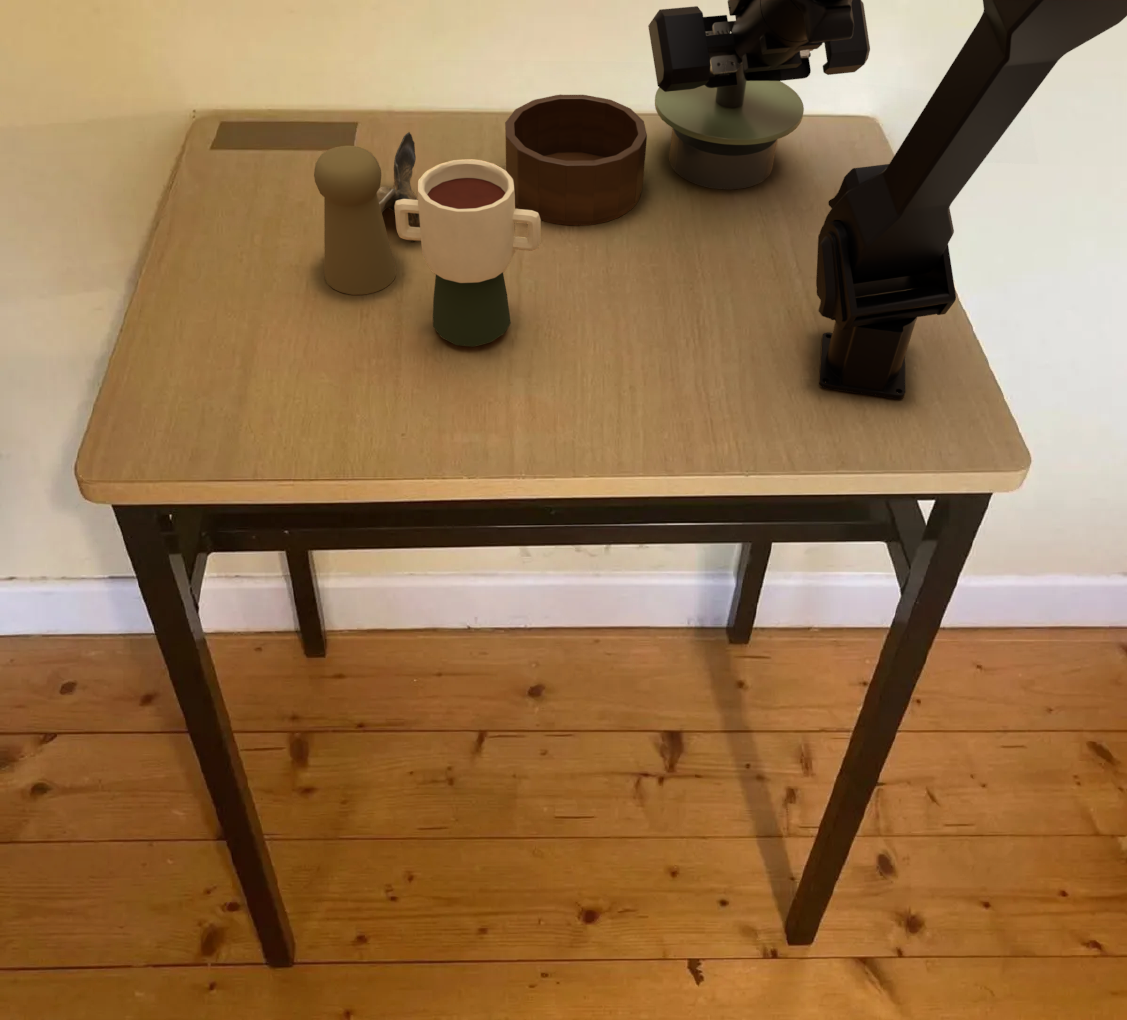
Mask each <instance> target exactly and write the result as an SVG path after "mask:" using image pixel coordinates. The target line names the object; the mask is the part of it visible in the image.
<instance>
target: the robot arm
mask: <svg viewBox="0 0 1127 1020" xmlns="http://www.w3.org/2000/svg"><path fill="white" fill-rule="evenodd" d="M982 7H983V12H982V14H981V16H980V18H979V20H978V21H977V23H976V25H975V27H974V28H973V29H972V31H971V33H970V34H969V36H968V38H967V39H966V40H965V43H964V44H963V45H962V47H961V49H960V50H959V52H958V54H957V55H956V57H955V59H954V60H953V62H952V63H951V65H950V66H949V68H948V69H947V71H946V73H945V74H944V76H943V77H942V79H941V81H940V82H939V84H938V85H937V87H936V89H935V90H934V92H933V93H932V95H931V97H930V98H929V100H928V101H927V103H926V105H924V108H923V109H922V111H921V113H920V114H919V116H918V117H917V118H916V120H915V122H914V124H913V126H912V127H911V128H910V130H909V132H908V133H907V134H906V136H905V137H904V140H903V141H902V143H901V144H900V145H899V148H898V149H897V151H896V152H895V154H894V156H893V157H892V159H891V160H890V162H889V163H885V164H876V165H867V166H860V167H853V168H851V169H850V171H849V172H848V173H846V175H845V176H844V177H843V179H842V182H841V183H840V184H841V185H840V187H839V189H838V191H837V193H836V194H835V195H834V197H833V198H831V199H829V200H828V202H827V204H828V206H829V207H830V208H831V209H830V210H829V211H828V213H827V215H826V217H825V219H824V222H823V224H822V226H821V228H820V231H819V234H818V235H817V236H818V237H817V257H816V279H815V280H816V281H815V287H816V295H817V298H819V300H820V303H819V307H818V312H819V314H820V316H821V317H824V318H826V319H829V320H831V321H834V325H833V329H832V332H824V333H822V337H821V340H820V341H821V345H820V357H819V358H820V359H819V371H818V386H819V387H821V388H823V389H826V390H827V389H828V390H834V391H841V392H848V393H854V394H861V395H866V396H874V397H880V398H888V399H892V400H893V399H894V400H902V399H904V398H905V395H906V353H907V350H908V347H909V344H910V341H911V338H912V335H913V331H914V329H915V325H916V322H917V319H918V318H921V317H926V316H927V317H928V316H934V315H936V316H941V315H946V314H947V313H948V311H949V310H950V308H951V307H952V306H953V305H954V303H955V302H956V301H957V300H956V299H957V295H956V288H955V280H954V274H953V268H952V261H951V254H950V247H949V243H950V241H951V239H952V237H953V236H954V233H955V230H954V225H953V220H952V214H951V209H950V207H951V205H952V203H953V202H954V201H955V199H956V198H957V197H958V196H959V194H960V192H961V191H962V190H963V189H964V187H965V186H966V185H967V183H968V182H969V180H970V179H971V178H972V176H973V175H974V174H975V173H976V172H977V170H978V169H979V167H980V166H981V164H982V163H983V162H984V161H985V159H986V158H987V157H988V155H989V154H990V152H991V151H992V150H993V149H994V147H995V146H996V144H997V143H998V142H999V140H1000V139H1001V138H1002V136H1003V135H1004V134H1005V133H1006V131H1007V130H1008V129H1009V127H1010V126H1011V124H1012V123H1013V121H1015V119H1016V118H1017V117H1018V115H1019V114H1020V113H1021V111H1022V110H1023V108H1024V107H1025V106H1026V104H1027V103H1028V102H1029V100H1030V99H1031V98H1032V97H1033V96H1034V94H1035V92H1036V91H1037V90H1038V89H1039V87H1040V86H1041V84H1042V83H1043V82H1044V80H1045V79H1046V78H1047V77H1048V75H1049V74H1050V72H1051V71H1052V70H1053V69H1054V67H1055V66H1056V64H1057V63H1058V62H1059V61H1060V60H1061V59H1062V58H1063V57H1064V56H1065V55H1067V54H1068V53H1070V52H1071V51H1073V50H1075V49H1077V48H1079V47H1080V46H1082V45H1084V44H1085V43H1087V42H1089V41H1091V40H1092V39H1094V38H1096V37H1097V36H1100V35H1101V34H1103V33H1105V32H1106V31H1108V30H1110V29H1112V28H1113V27H1115V26H1117V25H1118V24H1120V23H1121V22H1122V21H1123V20H1124V19H1125V18H1127V0H982ZM727 9H728V13H729V16H730V17H733V16H734V17H735V20H728V19H729V18H728V15H727V14H722V15H721V14H720V15H710V16H709V15H708V16H704V13H703V11H702V10H701V9H700V8H699V6H698V5H695V6H684V7H672V8H663V9H659V10H658V11H657V13H656V14H655V15H654V17H653V18H652V20H651V21H650V23H648V26H647V27H648V33H649V39H650V45H651V46H650V47H651V50H652V51H651V52H652V58H653V66H654V71H655V77H656V84H657V87H658V88H659V87H660V88H661V89H662V90H663V91H664V92H669V91H679V90H688V89H695V88H697V87H700V86H703V85H705V86H706V87H708V88H717V87H727V86H736V85H737V78H736V71H737V70H738V69H739V67H740V64H743V70H744V73H747V72H748V75H747V81H781V82H783V81H784V82H785V81H792V80H803V79H807V78H808V77H809V76H810V75H811V72H812V71H811V69H812V68H811V64H810V63H811V62H810V57H811V55H812V54H811V53H812V52H813V51H815V50H818V49H819V48H820V47H821V46H822V45H823V44H824V49H825V50H824V51H825V56H826V62H825V63H824V64H823V65H822V72H823V74H825V75H827V76H831V75H832V76H833V75H840V74H841V75H842V74H851V73H856V72H857V71H858V70H859V69H861V68H862V67H864V66H865V64H866V63H867V61H868V59H869V55H870V52H871V44H870V39H869V32H868V23H867V18H866V10H865V4H864V2H863V0H727Z"/></svg>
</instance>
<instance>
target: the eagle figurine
mask: <svg viewBox="0 0 1127 1020" xmlns="http://www.w3.org/2000/svg"><path fill="white" fill-rule="evenodd" d="M415 146H416V145H415V141H414V138H413V136H412V134H411V132H410V131H408V132H406V133H405V134H404V135H403V137H402V140H401V142H400V143H399V146H398V148H397V150H396V152H395V156H394V161H393V181H394V182H393V186H392V187H389V186H380V188H379V190H378V191H377V197H378V201H379V205H380V208H381V212H382V213H383V212H384V211H385V210H386V209H389V210H390V211H393V212H394V213H395V208H394V206H395V202H396V201H397V200H401V199H412V200H418V196H417V195H416V194H415V193H414V192H413V190H412V185H411V179H412V178H413V170H414V167H415V164H416V158H417V156H416V147H415ZM408 222H409V226H410V227H419V228H420V219H419V214H418V213H408ZM409 241H410V242H411V243H413V242H414V241H415V240H409Z"/></svg>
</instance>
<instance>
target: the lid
mask: <svg viewBox="0 0 1127 1020" xmlns="http://www.w3.org/2000/svg"><path fill="white" fill-rule="evenodd" d="M747 75H748V72H747V73H744V70H743V64H740V67H739V69H738V70H737V71H736V78H737V85H736V86H727V87H717V88H708V87H706V86H705V85H703V86H700V87H697V88H695V89H688V90H679V91H669V92H664V91H663V90H662V89H661V88H660V87H658V88H657V89H656V92H655V95H654V109H655V111H656V113H657V115H658V116H659V118H660V119H661V120H662V121H663V122H664V124H666V125H668V126H669V127H670V128H673V129H675V130H677V131H679V132H681V133H683V134H685V135H687V136H690V137H693V138H696V139H699V140H703V141H707V142H712V143H719V144H727V145H751V144H760V143H766V142H770V141H774V140H777V139H778V140H780V139H783V138H784V137H786V136H788V135H790V134H791V133H793V132H794V131H795V130H796V129H797V128H798V127H799V126H800V124H801V123H802V120H803V118H804V113H805V112H804V111H805V108H804V107H805V106H804V103H803V100H802V97H800V95H799V94H798V93H797V92H796V91H795V89H793V88H791V87H790V86H789V85H787V84H786V83H784V82H783V81H747ZM778 140H777V141H778Z"/></svg>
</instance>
